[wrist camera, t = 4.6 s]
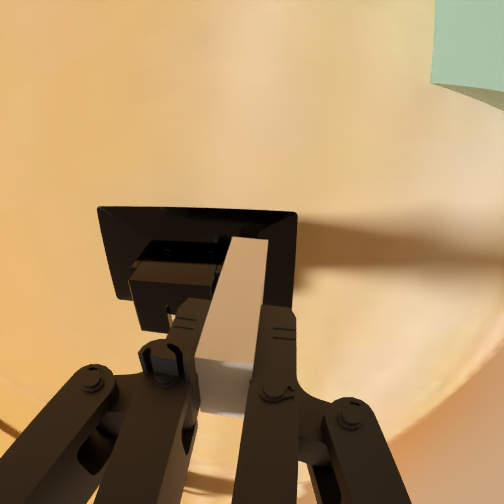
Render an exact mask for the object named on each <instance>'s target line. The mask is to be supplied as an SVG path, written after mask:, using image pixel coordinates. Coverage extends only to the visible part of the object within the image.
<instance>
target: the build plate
mask: <svg viewBox="0 0 504 504" xmlns="http://www.w3.org/2000/svg"><path fill="white" fill-rule="evenodd" d="M97 213H98V218H99V224H100V229H101V233H102V238H103V243H104V248H105V252H106V256H107V261H108V265H109V269H110V273H111V277H112V281H113V285H114V289H115V292H116V296H117V298H118V299H120V300H129V301H133V302H134V306H135V309H136V313H137V317H138V320H139V324H140V327H141V330H142V331H149V332H157V333H165V334H168V332H169V330H170V328H171V327H172V323H173V322H172V317H171V314H172V315H176V314H177V311H178V309H179V307H180V305H181V304H183V303H184V302H185V301H186V300H187V299H188V298H197V299H205V300H212V299H213V296H214V293H215V289H216V286H217V283H218V280H219V277H220V274H221V271H222V268H223V265H224V261H225V258H226V255H227V252H228V249H229V246H230V243H231V240H232V237H241V238H252V239H262V240H268V249H267V260H266V270H265V281H264V292H263V301H262V305H268V306H278V307H289V308H291V310H292V298H293V285H294V270H295V255H296V238H297V219H298V215H297V213H295V212H288V211H269V210H248V209H223V208H190V207H130V206H99V207H98V208H97Z"/></svg>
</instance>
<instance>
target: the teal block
mask: <svg viewBox="0 0 504 504" xmlns="http://www.w3.org/2000/svg"><path fill="white" fill-rule="evenodd" d="M430 83H432V84H435V85H438V86H441V87H445V88H447V89H450V90H453V91H456V92H459V93H462V94H464V95H467V96H470V97H472V98H475V99H477V100H480V101H482V102H485V103H487V104H490V105H492V106H494V107H497V108H499V109H501V110H504V0H435V26H434V44H433V58H432V69H431V78H430Z"/></svg>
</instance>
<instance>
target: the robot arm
mask: <svg viewBox="0 0 504 504" xmlns="http://www.w3.org/2000/svg"><path fill="white" fill-rule="evenodd" d="M267 249H268V240H262V239H252V238H241V237H232V240H231V243H230V246H229V249H228V252H227V255H226V258H225V261H224V265H223V268H222V271H221V274H220V277H219V280H218V283H217V286H216V289H215V293H214V296H213V299H212V300H205V299H197V298H188V299H187V300H186V301H185V302H184V303H183V304H181V305H180V307H179V309H178V311H177V314H176V316H175V319H174V321H173V323H172V327H171V328H170V330H169V332H168V335H167V337H166V339H158V340H154V341H150V342H149V343H147V344H146V345H144V346H143V347H142V348H141V349H140V351H139V352H138V355H139V359H140V362H141V366H142V369H143V372H140V373H137V374H128V375H113V373H112V371H111V370H110V369H108V368H107V367H106V366H103V365H100V364H90V365H87V366H84V367H82V368H81V369H79V370H78V371H77V372H75V374H74V375H73V376H72V377H71V378H70V379H69V380H68V381H67V382H66V383H65V385H64V386H63V387H62V388H61V389H60V390H59V391H58V392H57V393H56V395H55V396H54V397H53V398H52V399H51V400H50V401H49V402H48V403H47V405H46V406H45V407H44V408H43V409H42V410H41V411H40V413H39V414H38V415H37V416H36V417H35V418H34V419H33V421H32V422H31V423H30V424H29V425H28V426H27V427H26V429H25V430H24V431H23V432H22V433H21V434H20V436H19V437H18V438H17V439H16V440H15V442H14V443H13V444H12V445H11V446H10V447H9V449H8V450H7V451H6V452H5V453H4V455H3V456H2V457H1V458H0V504H86V503H87V502H88V500H89V499H90V498H91V496H92V495H93V493H94V492H95V490H96V489H97V488H98V486H99V485H100V486H99V489H98V492H97V495H96V497H95V500H94V503H93V504H180V501H181V497H182V493H183V488H184V484H185V480H186V475H187V471H188V467H189V462H190V458H191V454H192V450H193V445H194V441H195V437H196V433H197V428H198V421H197V416H198V411H199V407H200V410H201V412H203V413H209V414H216V415H223V416H230V417H238V418H244V422H243V429H242V436H241V443H240V450H239V457H238V463H237V470H236V477H235V483H234V490H233V497H232V503H231V504H296V501H297V478H298V461H301V462H304V463H306V464H307V467H308V471H309V475H310V478H311V482H312V486H313V489H314V493H315V497H316V500H317V504H412V503H411V501H410V498H409V496H408V493H407V491H406V488H405V486H404V483H403V481H402V478H401V476H400V473H399V471H398V468H397V466H396V464H395V461H394V459H393V457H392V454H391V452H390V449H389V447H388V445H387V442H386V440H385V438H384V435H383V433H382V431H381V428H380V426H379V424H378V421H377V419H376V417H375V414H374V412H373V411H372V409H371V408H370V407H369V405H368V404H366V403H365V402H363V401H362V400H359V399H356V398H353V397H343V398H340V399H338V400H335V401H334V402H333V403H329V402H326V401H323V400H320V399H317V398H315V397H313V396H310V395H309V394H307V393H306V392H305V391H304V390H303V389H302V388H301V387H300V385H299V383H298V381H297V375H296V317H295V315H294V314H293V312H292V310H291V308H289V307H278V306H268V305H262V301H263V292H264V281H265V270H266V260H267Z"/></svg>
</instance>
